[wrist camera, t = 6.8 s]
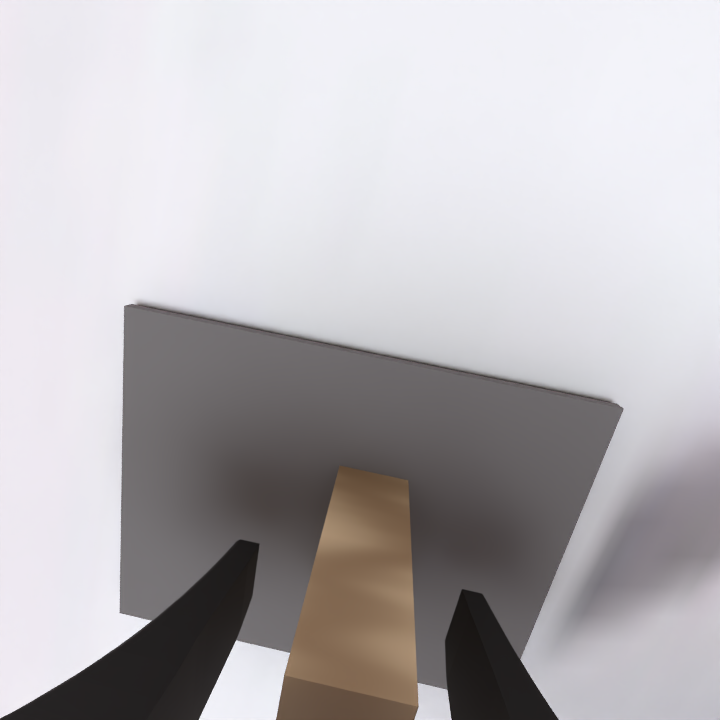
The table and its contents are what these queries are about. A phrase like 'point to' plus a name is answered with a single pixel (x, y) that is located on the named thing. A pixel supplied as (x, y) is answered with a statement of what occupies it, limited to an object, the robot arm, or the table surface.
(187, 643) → the robot arm
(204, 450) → the mat
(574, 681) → the table surface
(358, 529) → the block
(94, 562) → the table surface
